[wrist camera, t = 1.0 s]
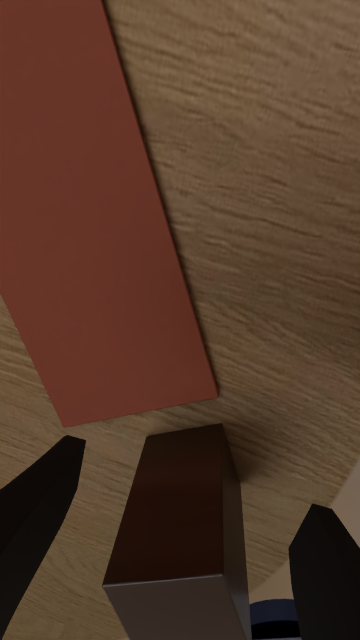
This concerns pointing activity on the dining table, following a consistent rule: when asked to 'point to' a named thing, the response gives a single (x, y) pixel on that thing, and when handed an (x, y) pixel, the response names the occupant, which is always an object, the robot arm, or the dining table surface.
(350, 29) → the dining table surface
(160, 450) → the walnut block
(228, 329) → the dining table surface
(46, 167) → the terracotta mat
